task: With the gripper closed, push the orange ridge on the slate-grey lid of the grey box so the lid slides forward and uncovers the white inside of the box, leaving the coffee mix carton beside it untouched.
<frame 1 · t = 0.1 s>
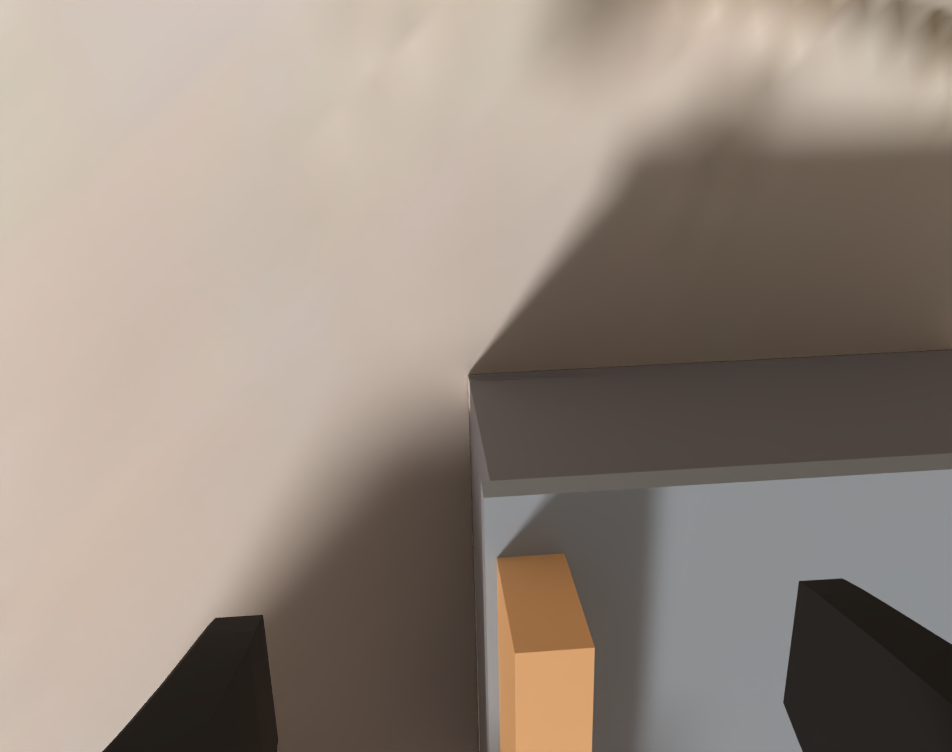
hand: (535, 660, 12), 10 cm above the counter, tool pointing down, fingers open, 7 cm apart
grey box: (699, 574, 24), on the counter
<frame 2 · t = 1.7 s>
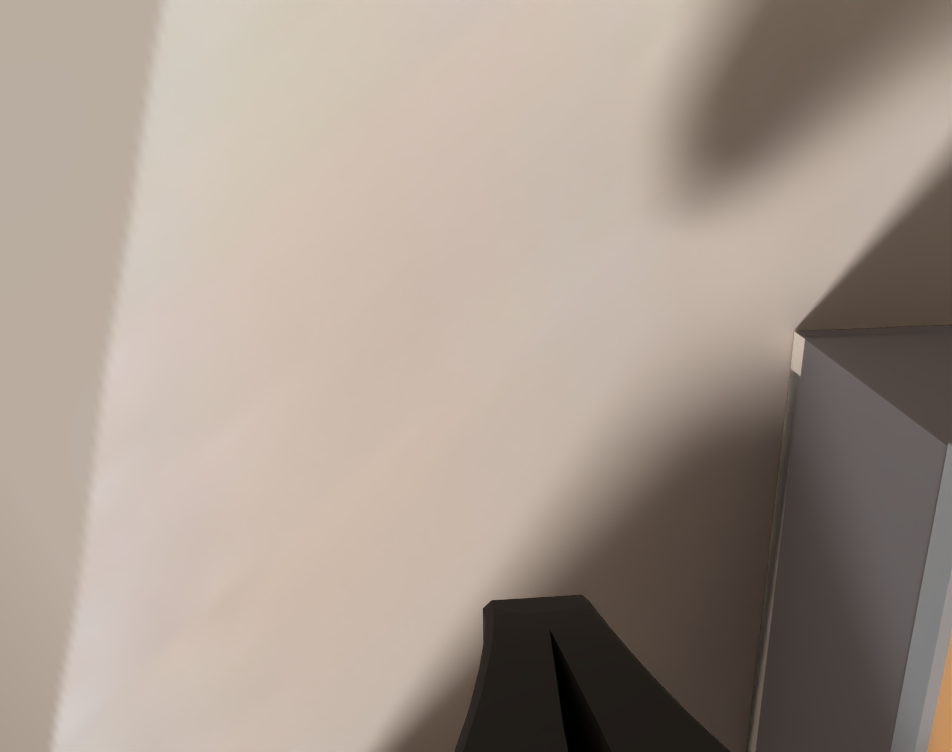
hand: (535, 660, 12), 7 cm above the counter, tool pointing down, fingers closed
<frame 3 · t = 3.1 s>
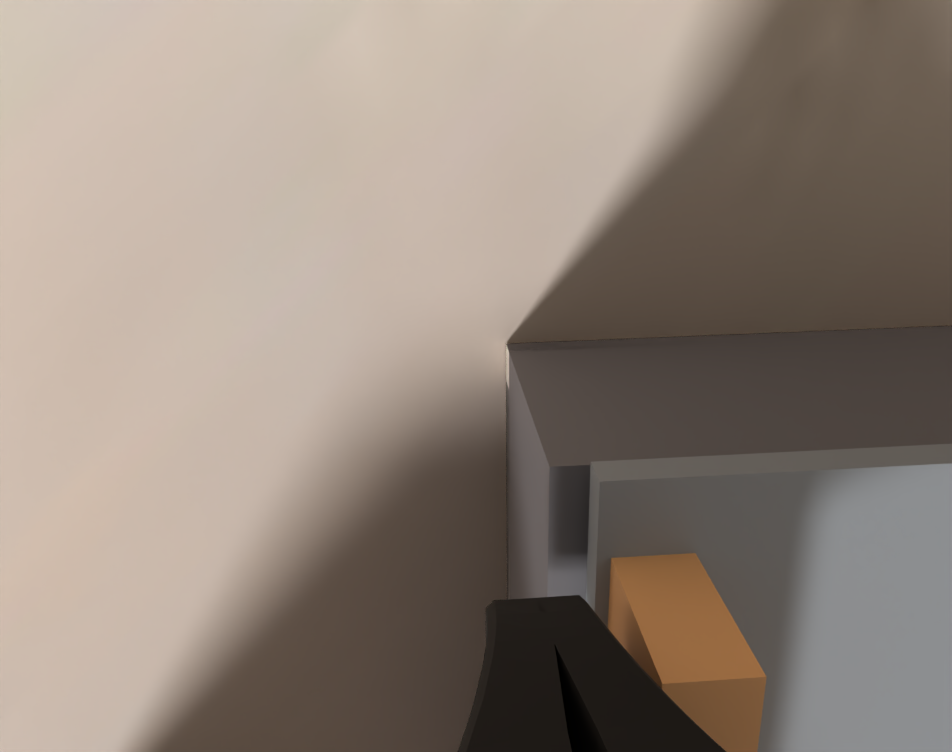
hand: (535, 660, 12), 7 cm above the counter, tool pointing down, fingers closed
grey box: (767, 581, 21), on the counter
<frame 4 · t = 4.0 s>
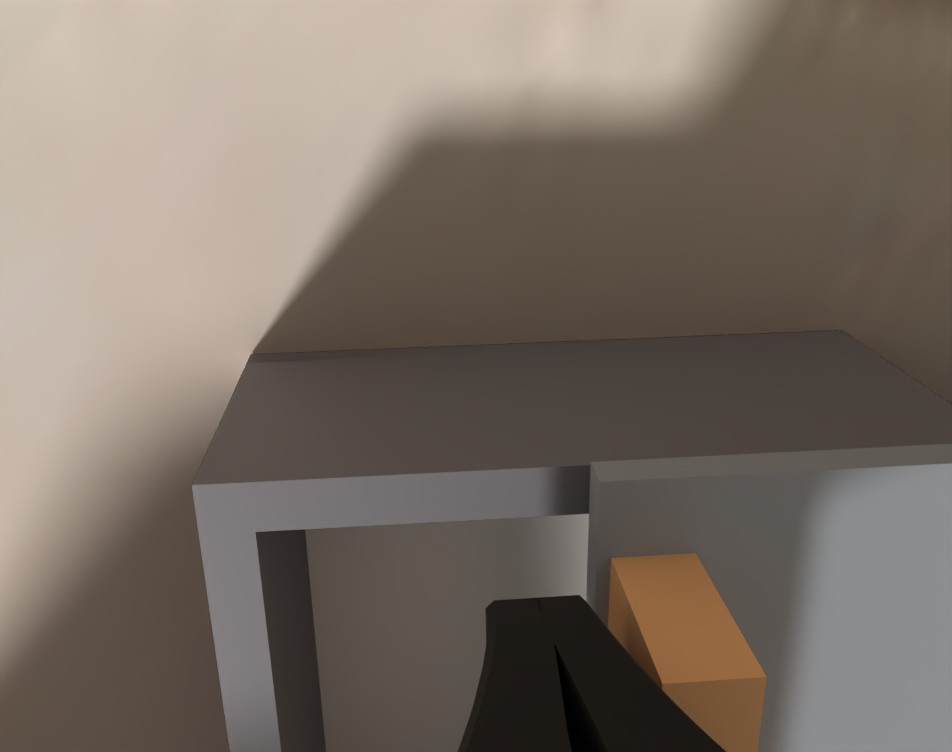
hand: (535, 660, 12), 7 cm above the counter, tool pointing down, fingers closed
grey box: (548, 594, 20), on the counter
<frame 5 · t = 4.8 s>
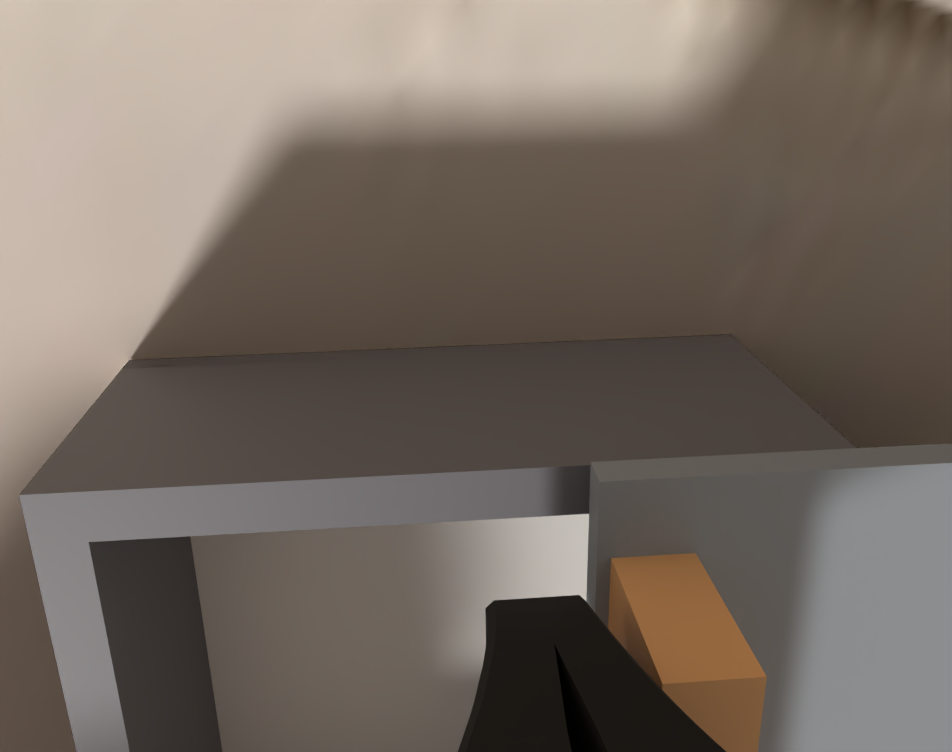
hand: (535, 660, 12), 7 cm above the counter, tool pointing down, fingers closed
grey box: (445, 601, 20), on the counter
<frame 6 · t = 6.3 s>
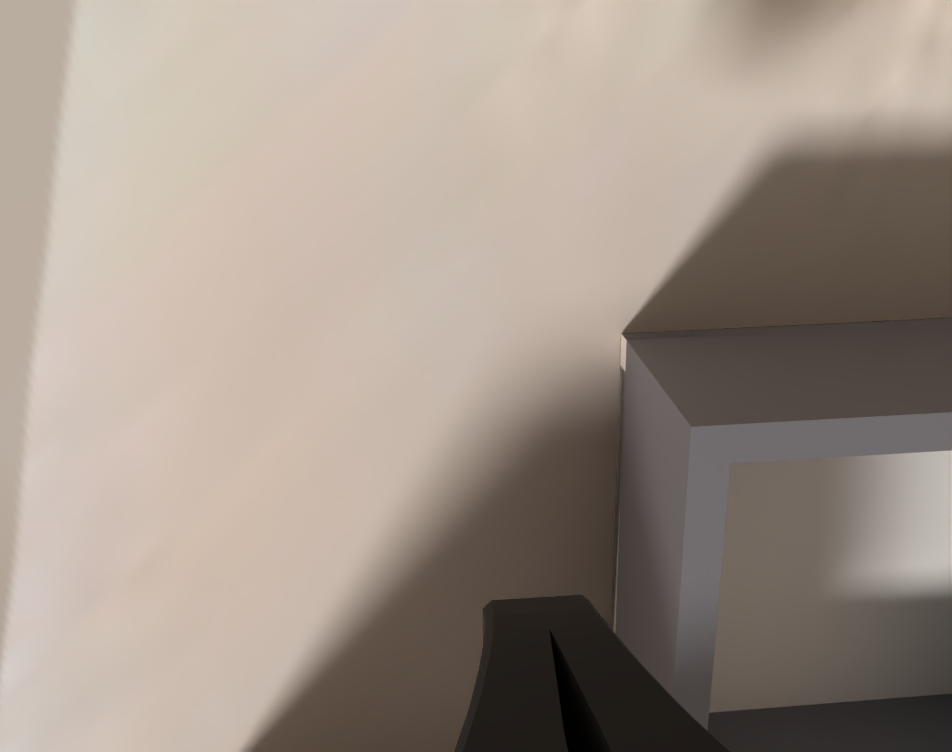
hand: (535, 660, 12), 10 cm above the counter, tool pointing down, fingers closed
grey box: (834, 535, 24), on the counter
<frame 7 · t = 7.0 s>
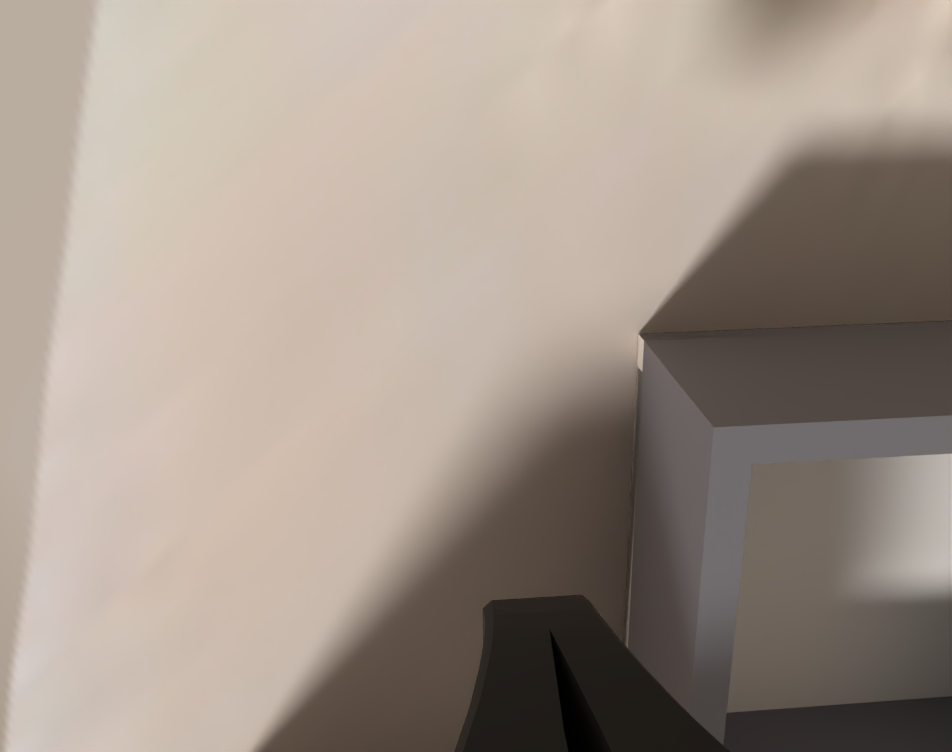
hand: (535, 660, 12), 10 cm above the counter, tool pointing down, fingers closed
grey box: (847, 536, 24), on the counter
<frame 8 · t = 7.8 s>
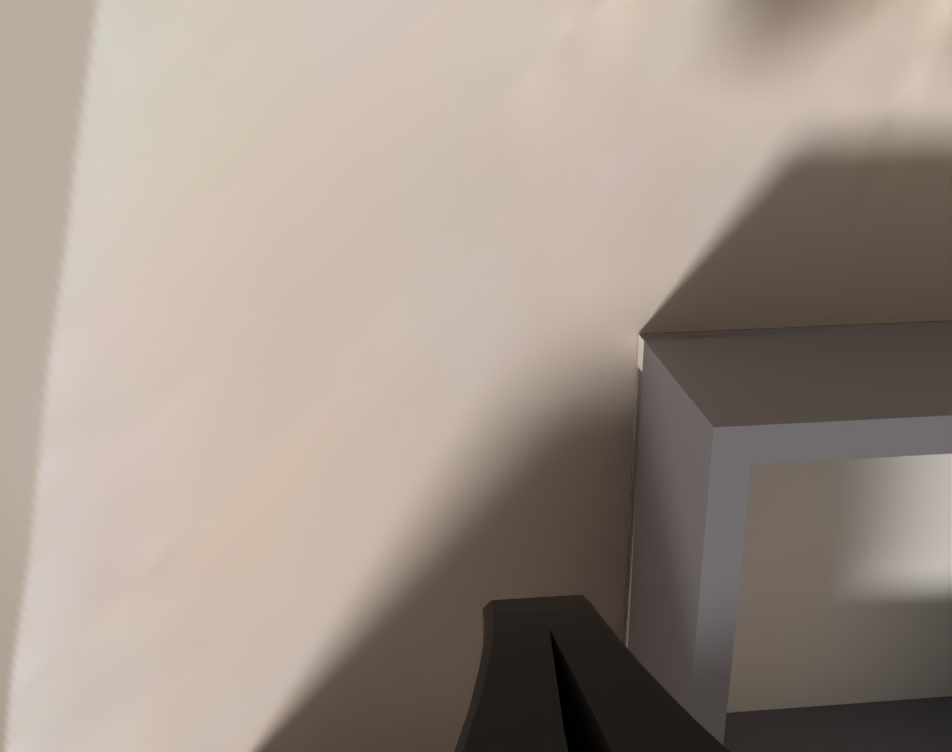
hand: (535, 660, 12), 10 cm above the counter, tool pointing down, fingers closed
grey box: (847, 536, 24), on the counter
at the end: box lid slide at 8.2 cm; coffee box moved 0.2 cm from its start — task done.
